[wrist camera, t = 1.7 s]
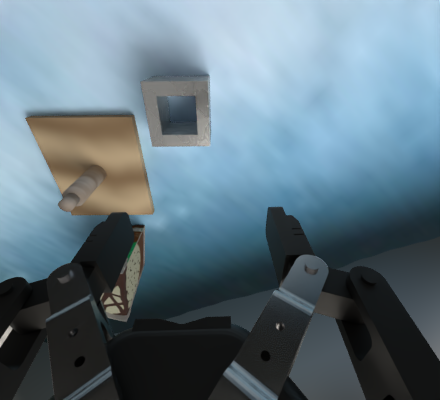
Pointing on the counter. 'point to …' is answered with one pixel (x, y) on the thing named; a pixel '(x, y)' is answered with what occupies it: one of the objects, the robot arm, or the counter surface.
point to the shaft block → (95, 163)
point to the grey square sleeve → (160, 116)
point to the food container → (127, 279)
